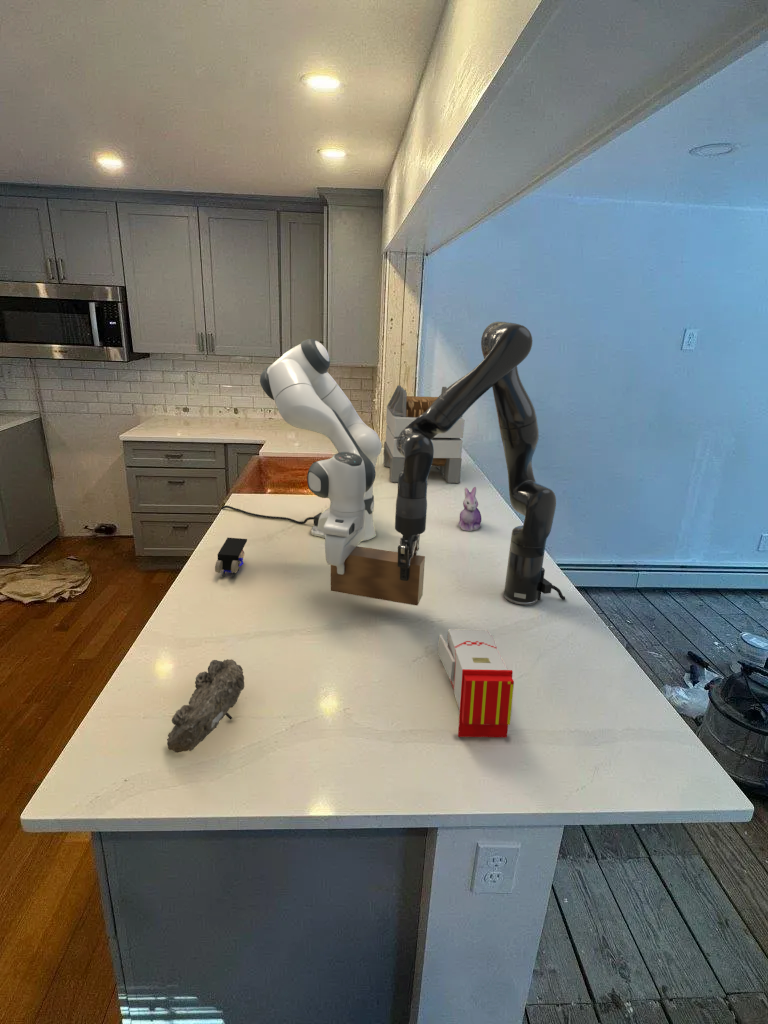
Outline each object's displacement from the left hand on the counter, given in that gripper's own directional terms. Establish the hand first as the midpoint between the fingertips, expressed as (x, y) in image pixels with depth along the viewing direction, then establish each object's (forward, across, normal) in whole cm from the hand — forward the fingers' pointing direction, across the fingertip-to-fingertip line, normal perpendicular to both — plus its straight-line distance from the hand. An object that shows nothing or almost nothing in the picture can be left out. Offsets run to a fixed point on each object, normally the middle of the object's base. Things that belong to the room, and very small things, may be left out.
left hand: (346, 567), depth 147 cm
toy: (+11, +26, +37) cm, 46 cm away
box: (+6, 0, +8) cm, 10 cm away
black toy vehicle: (+11, -8, -38) cm, 40 cm away
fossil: (+11, +50, -9) cm, 52 cm away
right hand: (-1, 0, +16) cm, 16 cm away
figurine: (+11, -70, +24) cm, 75 cm away
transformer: (+11, -134, -10) cm, 135 cm away
